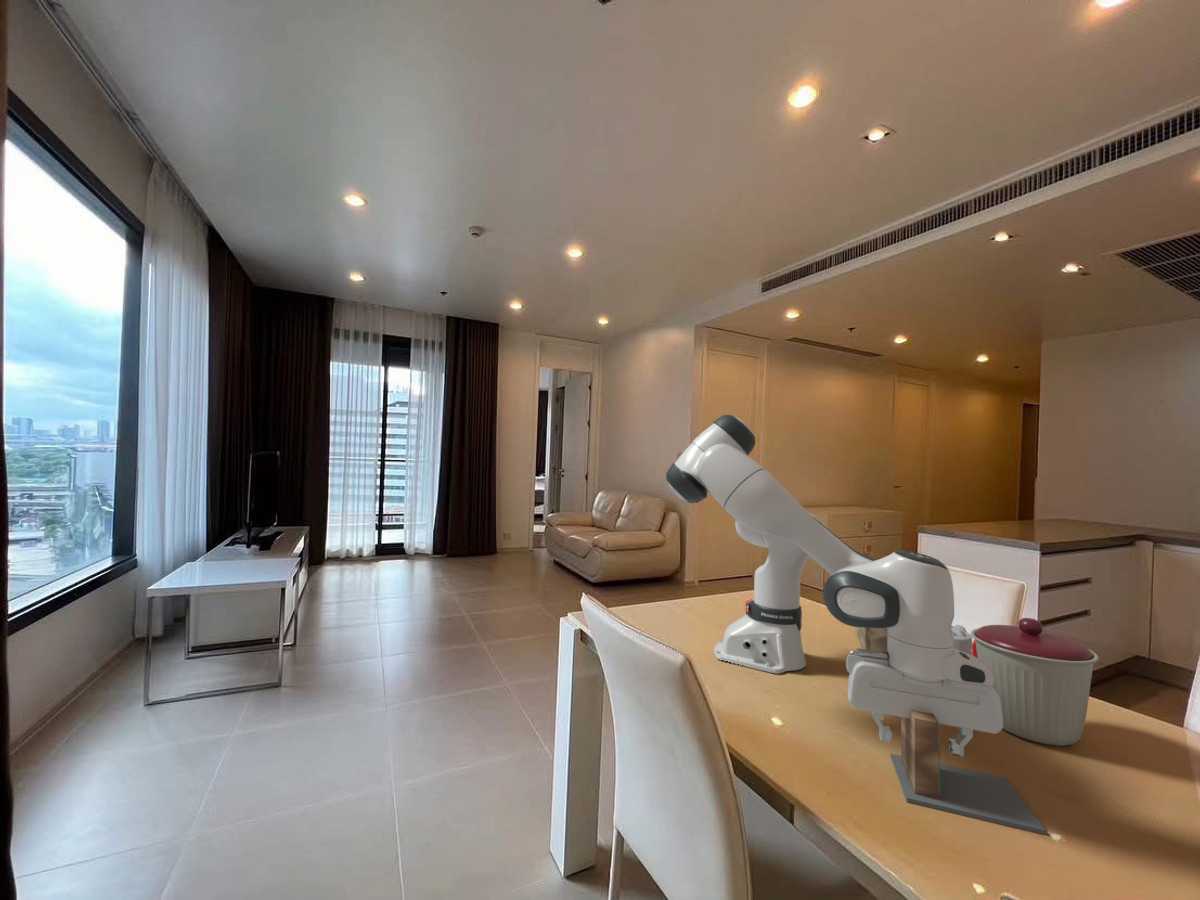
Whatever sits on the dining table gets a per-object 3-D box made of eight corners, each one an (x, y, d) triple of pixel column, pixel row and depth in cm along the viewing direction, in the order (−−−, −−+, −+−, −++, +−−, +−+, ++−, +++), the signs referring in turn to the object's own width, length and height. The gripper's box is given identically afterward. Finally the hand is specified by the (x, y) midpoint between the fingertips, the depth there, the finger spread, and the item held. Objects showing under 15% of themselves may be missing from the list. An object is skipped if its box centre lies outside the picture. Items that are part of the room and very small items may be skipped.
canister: (1068, 769, 79) (1066, 640, 80) (951, 716, 96) (950, 609, 97) (1120, 746, 86) (1118, 628, 87) (1003, 701, 103) (1002, 602, 104)
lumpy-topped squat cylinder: (949, 650, 133) (949, 618, 134) (984, 669, 120) (984, 634, 121) (911, 648, 134) (911, 616, 134) (942, 667, 121) (941, 632, 121)
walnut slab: (914, 793, 71) (914, 718, 72) (901, 760, 80) (901, 692, 80) (940, 799, 70) (940, 722, 70) (924, 765, 78) (924, 696, 79)
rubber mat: (906, 802, 70) (906, 797, 70) (890, 757, 81) (890, 753, 81) (1045, 834, 64) (1045, 830, 64) (1007, 781, 76) (1007, 777, 76)
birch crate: (866, 657, 126) (866, 611, 126) (854, 631, 146) (855, 592, 147) (919, 665, 122) (919, 617, 122) (900, 637, 142) (900, 596, 143)
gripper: (848, 653, 76) (848, 741, 76) (1007, 676, 69) (1008, 774, 68) (844, 640, 82) (843, 722, 82) (990, 660, 75) (990, 751, 74)
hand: (919, 746), depth 75 cm, fingers open, 8 cm apart
